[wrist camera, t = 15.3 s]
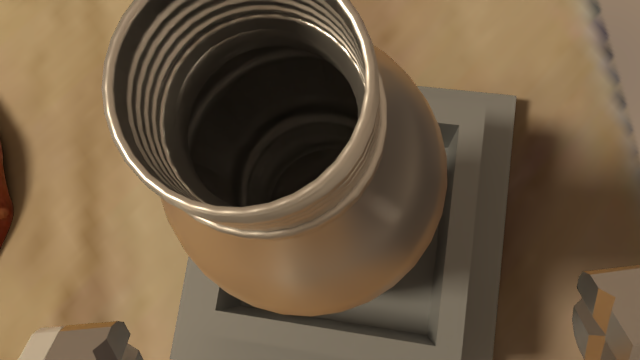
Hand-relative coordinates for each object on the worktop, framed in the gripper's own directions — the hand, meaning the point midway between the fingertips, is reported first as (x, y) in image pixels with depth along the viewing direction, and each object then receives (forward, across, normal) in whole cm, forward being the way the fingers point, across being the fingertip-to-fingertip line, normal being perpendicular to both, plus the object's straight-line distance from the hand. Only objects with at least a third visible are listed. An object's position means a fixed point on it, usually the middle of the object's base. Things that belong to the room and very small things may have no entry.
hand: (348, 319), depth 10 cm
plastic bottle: (+14, +1, +9) cm, 17 cm away
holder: (+14, 0, +10) cm, 17 cm away
